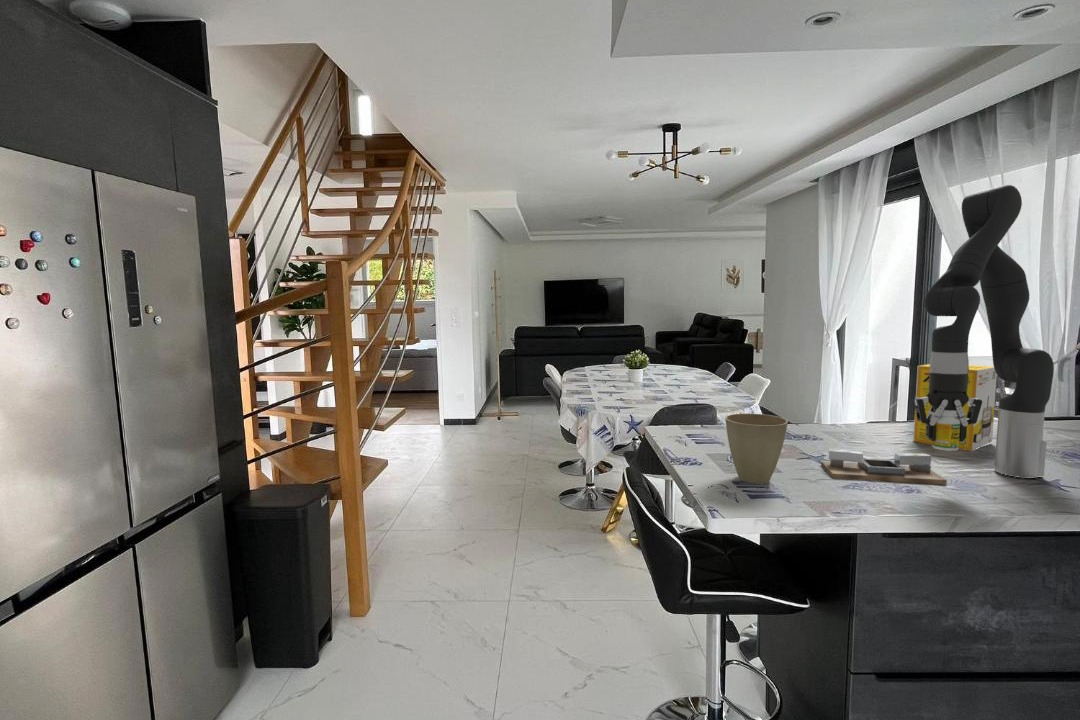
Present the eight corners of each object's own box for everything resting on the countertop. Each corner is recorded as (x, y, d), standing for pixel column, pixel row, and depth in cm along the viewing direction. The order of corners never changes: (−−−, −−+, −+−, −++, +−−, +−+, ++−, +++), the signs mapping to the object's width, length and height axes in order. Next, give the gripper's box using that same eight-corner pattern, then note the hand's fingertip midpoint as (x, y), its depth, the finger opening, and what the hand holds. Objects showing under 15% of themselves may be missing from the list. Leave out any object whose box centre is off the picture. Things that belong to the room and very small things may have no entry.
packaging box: (934, 435, 197) (939, 362, 194) (991, 444, 183) (997, 366, 181) (913, 441, 188) (917, 365, 185) (971, 451, 174) (977, 370, 172)
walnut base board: (925, 471, 154) (926, 466, 154) (946, 484, 142) (946, 480, 142) (820, 465, 160) (821, 461, 159) (832, 478, 148) (832, 473, 148)
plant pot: (711, 475, 151) (713, 415, 150) (756, 469, 156) (758, 411, 155) (750, 492, 137) (752, 426, 136) (799, 485, 142) (801, 422, 141)
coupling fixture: (925, 468, 152) (926, 452, 152) (939, 477, 144) (941, 461, 143) (825, 463, 158) (826, 448, 157) (834, 471, 149) (834, 456, 149)
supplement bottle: (937, 444, 141) (939, 406, 140) (962, 448, 137) (964, 409, 136) (927, 448, 138) (929, 409, 137) (953, 452, 134) (955, 412, 133)
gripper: (974, 369, 138) (971, 437, 140) (908, 368, 141) (905, 436, 143) (991, 372, 131) (988, 445, 132) (921, 372, 134) (918, 443, 135)
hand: (945, 440), depth 137 cm, fingers closed on supplement bottle, 5 cm apart
